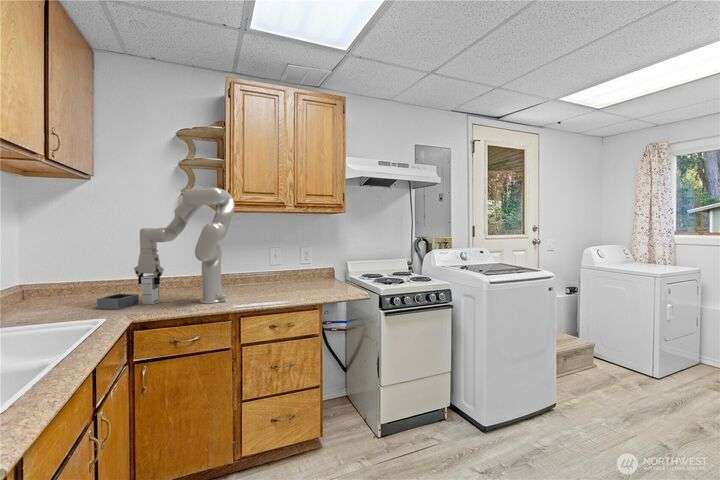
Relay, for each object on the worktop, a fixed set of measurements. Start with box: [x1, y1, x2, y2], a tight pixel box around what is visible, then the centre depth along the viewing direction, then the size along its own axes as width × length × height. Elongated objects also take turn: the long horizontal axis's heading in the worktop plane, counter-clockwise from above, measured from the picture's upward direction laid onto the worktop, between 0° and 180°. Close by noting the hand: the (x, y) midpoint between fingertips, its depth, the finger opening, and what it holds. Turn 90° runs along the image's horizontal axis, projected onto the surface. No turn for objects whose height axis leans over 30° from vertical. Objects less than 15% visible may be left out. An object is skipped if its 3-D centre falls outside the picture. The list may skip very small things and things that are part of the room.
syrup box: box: [140, 274, 161, 305], centre depth 185 cm, size 6×6×14 cm
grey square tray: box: [96, 293, 140, 311], centre depth 179 cm, size 12×12×5 cm
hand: (149, 284), depth 185 cm, fingers open, 9 cm apart
